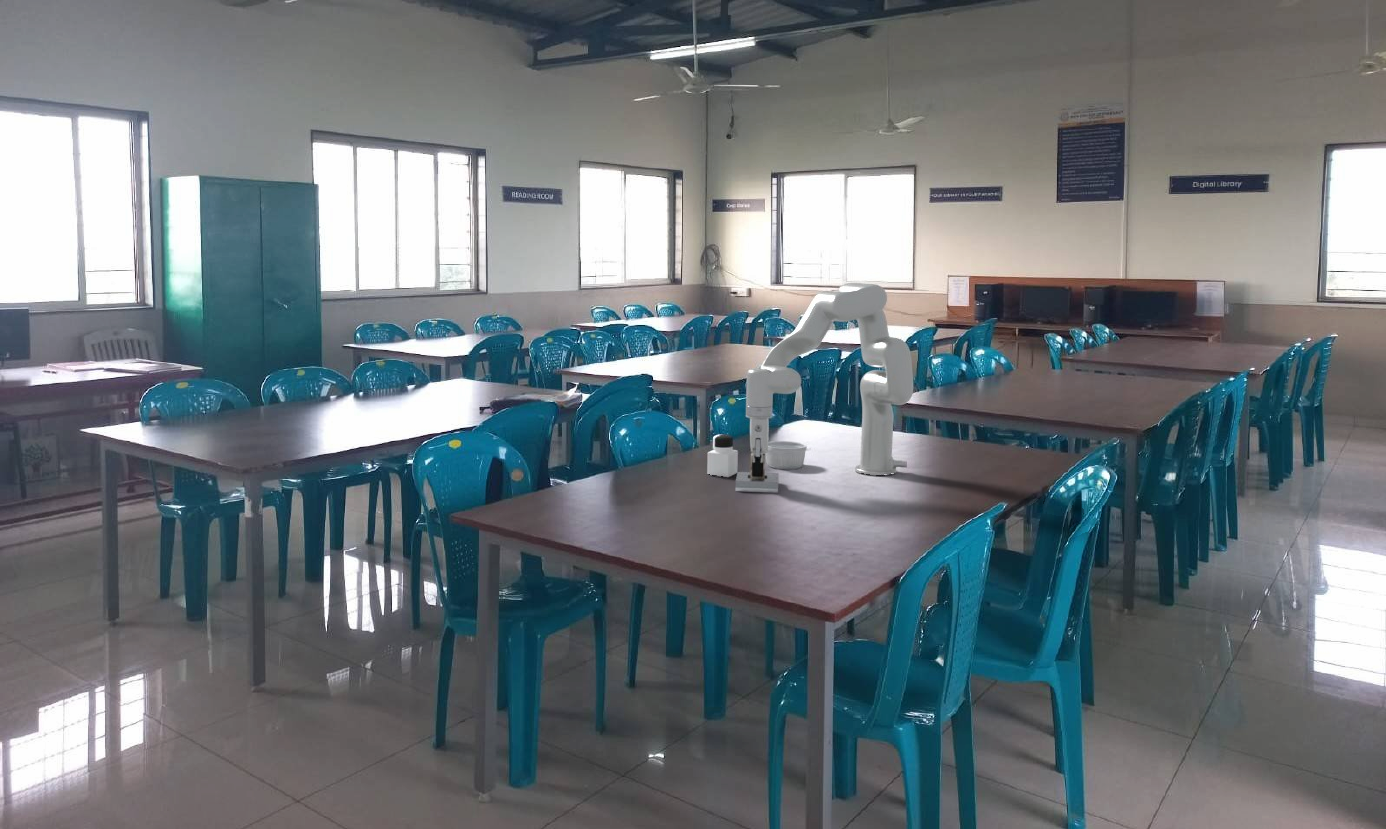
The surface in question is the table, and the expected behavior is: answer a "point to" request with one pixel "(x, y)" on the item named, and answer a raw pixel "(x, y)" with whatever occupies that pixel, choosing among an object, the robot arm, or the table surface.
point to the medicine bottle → (722, 457)
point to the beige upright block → (763, 467)
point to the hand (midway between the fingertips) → (757, 474)
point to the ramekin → (785, 454)
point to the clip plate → (757, 483)
